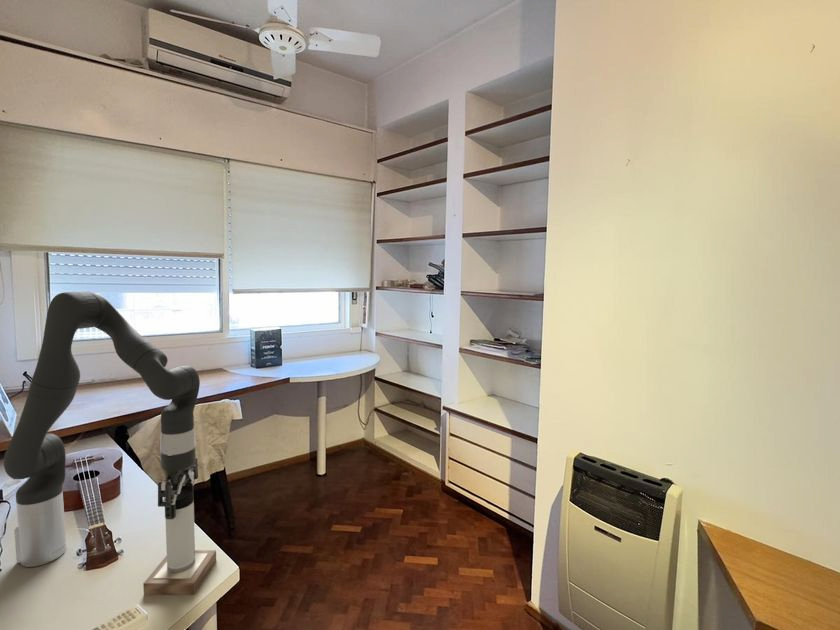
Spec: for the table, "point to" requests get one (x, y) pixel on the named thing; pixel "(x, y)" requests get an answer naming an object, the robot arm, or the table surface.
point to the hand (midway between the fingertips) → (179, 508)
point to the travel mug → (181, 533)
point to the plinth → (180, 576)
